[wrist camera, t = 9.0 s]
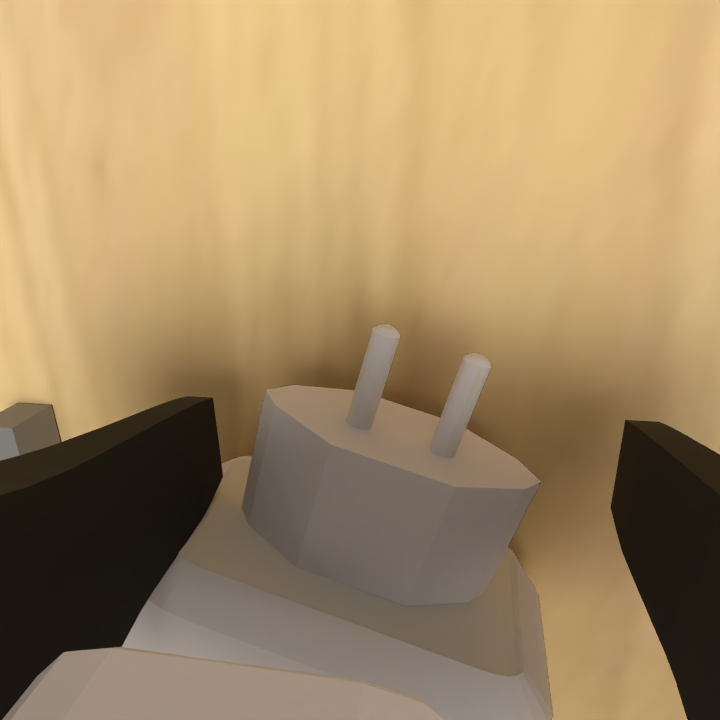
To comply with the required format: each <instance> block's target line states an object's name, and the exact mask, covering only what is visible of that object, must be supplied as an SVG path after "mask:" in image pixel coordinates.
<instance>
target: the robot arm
mask: <svg viewBox="0 0 720 720" xmlns="http://www.w3.org/2000/svg"><path fill="white" fill-rule="evenodd" d="M222 478H223V472H222V464H221V456H220V449H219V441H218V434H217V426H216V419H215V411H214V404H213V398H206V397H183V398H179V399H175V400H172V401H169V402H166V403H163V404H161V405H158V406H155V407H153V408H150V409H147V410H145V411H142V412H140V413H137V414H135V415H132V416H130V417H127V418H125V419H122V420H120V421H117V422H115V423H112V424H110V425H107V426H104V427H102V428H99V429H96V430H94V431H91V432H88V433H85V434H83V435H80V436H77V437H74V438H72V439H69V440H66V441H64V442H61V443H58V444H55V445H52V446H49V447H46V448H43V449H39V450H36V451H33V452H29V453H26V454H22V455H19V456H15V457H12V458H8V459H5V460H1V461H0V720H443V719H442V718H441V717H440V716H439V715H437V714H436V713H435V712H434V711H433V710H432V709H431V708H429V707H428V706H427V705H426V704H425V703H424V702H422V701H421V700H420V699H418V698H415V697H412V696H409V695H406V694H403V693H400V692H397V691H394V690H391V689H388V688H385V687H382V686H379V685H376V684H373V683H370V682H367V681H363V680H355V679H348V678H341V677H334V676H327V675H320V674H312V673H305V672H298V671H291V670H284V669H276V668H269V667H262V666H255V665H248V664H240V663H233V662H226V661H219V660H212V659H204V658H197V657H190V656H183V655H176V654H168V653H161V652H154V651H147V650H140V649H132V648H125V647H122V645H123V644H124V642H125V640H126V638H127V636H128V634H129V632H130V630H131V629H132V627H133V625H134V623H135V621H136V619H137V617H138V615H139V614H140V612H141V610H142V609H143V607H144V605H145V604H146V602H147V601H148V599H149V597H150V596H151V594H152V593H153V591H154V590H155V588H156V587H157V585H158V584H159V582H160V581H161V579H162V578H163V576H164V575H165V573H166V572H167V570H168V569H169V568H170V566H171V565H172V563H173V562H174V560H175V559H176V557H177V556H178V553H179V551H180V550H181V549H182V548H183V546H184V545H185V544H186V543H187V541H188V540H189V538H190V537H191V535H192V534H193V532H194V530H195V529H196V527H197V526H198V524H199V523H200V521H201V520H202V518H203V517H204V515H205V514H206V512H207V510H208V508H209V506H210V504H211V502H212V500H213V498H214V496H215V493H216V491H217V489H218V487H219V484H220V482H221V480H222ZM611 510H612V514H613V518H614V522H615V527H616V531H617V534H618V538H619V542H620V545H621V549H622V552H623V555H624V557H625V560H626V562H627V564H628V567H629V569H630V572H631V574H632V576H633V579H634V581H635V584H636V586H637V588H638V591H639V593H640V595H641V598H642V600H643V602H644V605H645V607H646V609H647V612H648V614H649V616H650V619H651V621H652V623H653V626H654V628H655V630H656V633H657V635H658V637H659V640H660V642H661V645H662V647H663V649H664V652H665V654H666V656H667V659H668V662H669V664H670V667H671V670H672V672H673V675H674V678H675V680H676V683H677V687H678V690H679V693H680V697H681V700H682V703H683V706H684V710H685V713H686V716H687V719H688V720H720V455H719V454H717V453H716V452H714V451H712V450H711V449H709V448H707V447H705V446H704V445H702V444H700V443H698V442H697V441H695V440H693V439H692V438H690V437H688V436H686V435H684V434H683V433H681V432H679V431H677V430H675V429H673V428H671V427H669V426H667V425H665V424H662V423H660V422H650V421H631V420H625V426H624V432H623V438H622V443H621V449H620V455H619V461H618V467H617V473H616V479H615V485H614V491H613V497H612V503H611Z"/></svg>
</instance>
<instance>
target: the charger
mask: <svg viewBox="0 0 720 720" xmlns="http://www.w3.org/2000/svg"><path fill="white" fill-rule="evenodd" d="M399 339H400V334H399V332H398V331H397V330H396V329H395V328H394V327H392V326H391V325H388V324H379V325H377V326H375V327H373V329H372V332H371V336H370V339H369V343H368V346H367V349H366V353H365V356H364V360H363V363H362V367H361V370H360V373H359V377H358V380H357V384H356V387H355V390H346V389H335V388H324V387H313V386H301V385H290V386H284V387H278V388H271V389H266V391H265V396H264V401H263V406H262V410H261V415H260V420H259V425H258V430H257V434H256V439H255V444H254V449H253V454H252V456H241V457H237V458H234V459H232V460H229V461H227V462H224V463H221V464H222V472H223V478H222V480H221V482H220V484H219V487H218V489H217V491H216V493H215V496H214V498H213V500H212V502H211V504H210V506H209V508H208V510H207V512H206V514H205V515H204V517H203V518H202V520H201V521H200V523H199V524H198V526H197V527H196V529H195V530H194V532H193V534H192V535H191V537H190V538H189V540H188V541H187V543H186V544H185V545H184V546H183V548H182V549H181V550H180V551H179V553H178V556H177V557H176V559H175V560H174V562H173V563H172V565H171V566H170V568H169V569H168V570H167V572H166V573H165V575H164V576H163V578H162V579H161V581H160V582H159V584H158V585H157V587H156V588H155V590H154V591H153V593H152V594H151V596H150V597H149V599H148V601H147V602H146V604H145V605H144V607H143V609H142V610H141V612H140V614H139V615H138V617H137V619H136V621H135V623H134V625H133V627H132V629H131V630H130V632H129V634H128V636H127V638H126V640H125V642H124V644H123V645H122V647H125V648H132V649H140V650H147V651H154V652H161V653H168V654H176V655H183V656H190V657H197V658H204V659H212V660H219V661H226V662H233V663H240V664H248V665H255V666H262V667H269V668H276V669H284V670H291V671H298V672H305V673H312V674H320V675H327V676H334V677H341V678H348V679H355V680H363V681H367V682H370V683H373V684H376V685H379V686H382V687H385V688H388V689H391V690H394V691H397V692H400V693H403V694H406V695H409V696H412V697H415V698H418V699H420V700H421V701H422V702H424V703H425V704H426V705H427V706H428V707H429V708H431V709H432V710H433V711H434V712H435V713H436V714H437V715H439V716H440V717H441V718H442V719H443V720H552V716H553V710H552V702H551V693H550V685H549V677H548V669H547V660H546V652H545V644H544V636H543V627H542V619H541V611H540V602H539V595H538V593H537V591H536V589H535V587H534V585H533V583H532V582H531V580H530V578H529V577H528V575H527V573H526V572H525V570H524V569H523V567H522V565H521V564H520V562H519V560H518V559H517V557H516V555H515V554H514V552H513V551H512V550H511V549H510V548H509V547H508V545H509V543H510V541H511V539H512V537H513V535H514V533H515V532H516V530H517V528H518V526H519V524H520V522H521V520H522V518H523V516H524V514H525V512H526V510H527V508H528V506H529V504H530V502H531V500H532V498H533V496H534V494H535V492H536V491H537V489H538V487H539V485H540V483H541V481H540V480H539V479H537V478H536V477H535V476H534V475H533V474H532V473H531V472H530V471H529V470H528V469H527V468H526V467H525V466H524V465H523V464H522V463H521V462H520V461H519V460H518V459H516V458H514V457H513V456H511V455H509V454H508V453H506V452H504V451H503V450H501V449H499V448H498V447H496V446H494V445H493V444H491V443H489V442H488V441H486V440H484V439H483V438H481V437H479V436H478V435H476V434H474V433H473V432H471V431H469V430H468V429H466V427H467V425H468V422H469V420H470V417H471V415H472V413H473V410H474V408H475V405H476V403H477V400H478V398H479V396H480V393H481V391H482V388H483V386H484V383H485V381H486V379H487V376H488V374H489V371H490V369H491V364H490V362H489V360H488V359H487V358H486V357H484V356H483V355H481V354H479V353H470V354H467V355H465V356H464V357H463V359H462V362H461V364H460V367H459V370H458V372H457V375H456V377H455V380H454V383H453V385H452V388H451V391H450V393H449V396H448V398H447V401H446V404H445V406H444V409H443V411H442V414H441V417H437V416H434V415H431V414H428V413H425V412H422V411H419V410H416V409H413V408H410V407H407V406H404V405H401V404H398V403H395V402H392V401H389V400H386V399H382V398H381V396H382V393H383V389H384V386H385V383H386V380H387V377H388V374H389V371H390V368H391V364H392V361H393V358H394V355H395V352H396V349H397V346H398V342H399Z"/></svg>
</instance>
